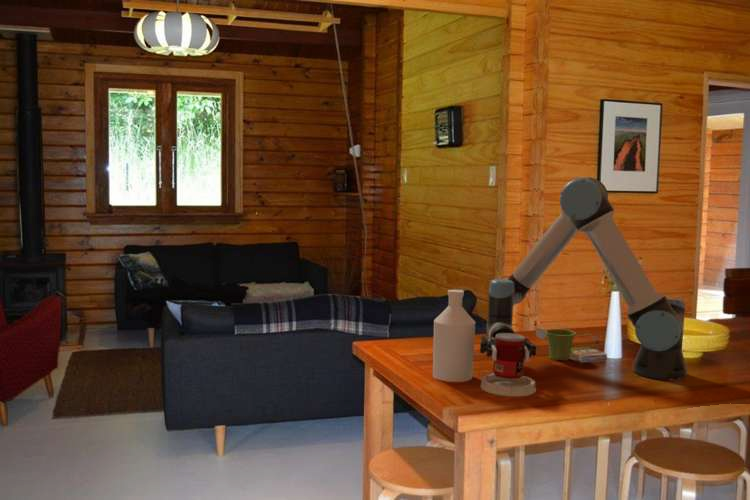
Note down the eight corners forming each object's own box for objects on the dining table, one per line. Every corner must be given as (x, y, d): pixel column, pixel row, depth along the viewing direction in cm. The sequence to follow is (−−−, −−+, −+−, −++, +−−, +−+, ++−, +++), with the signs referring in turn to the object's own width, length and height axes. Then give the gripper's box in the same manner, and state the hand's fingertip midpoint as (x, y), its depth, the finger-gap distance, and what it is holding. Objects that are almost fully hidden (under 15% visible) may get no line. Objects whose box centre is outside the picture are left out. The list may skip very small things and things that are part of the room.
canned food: (522, 380, 208) (524, 340, 207) (492, 377, 210) (494, 337, 208) (522, 373, 216) (525, 334, 214) (493, 370, 217) (496, 331, 216)
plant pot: (561, 363, 242) (562, 336, 241) (538, 357, 249) (539, 330, 249) (580, 360, 247) (582, 333, 247) (557, 353, 255) (558, 327, 254)
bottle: (477, 374, 227) (481, 289, 224) (466, 384, 216) (470, 295, 213) (438, 369, 232) (442, 286, 229) (426, 378, 221) (429, 292, 218)
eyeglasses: (533, 337, 281) (533, 326, 281) (571, 333, 290) (571, 323, 289) (562, 346, 268) (562, 335, 267) (601, 342, 276) (601, 331, 276)
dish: (539, 384, 218) (539, 376, 217) (532, 399, 203) (532, 390, 203) (485, 378, 222) (486, 370, 222) (475, 392, 208) (476, 384, 208)
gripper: (537, 351, 230) (549, 372, 207) (466, 348, 231) (471, 368, 208) (538, 326, 229) (551, 344, 206) (467, 323, 230) (472, 340, 207)
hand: (511, 356), depth 207 cm, fingers closed on canned food, 8 cm apart
